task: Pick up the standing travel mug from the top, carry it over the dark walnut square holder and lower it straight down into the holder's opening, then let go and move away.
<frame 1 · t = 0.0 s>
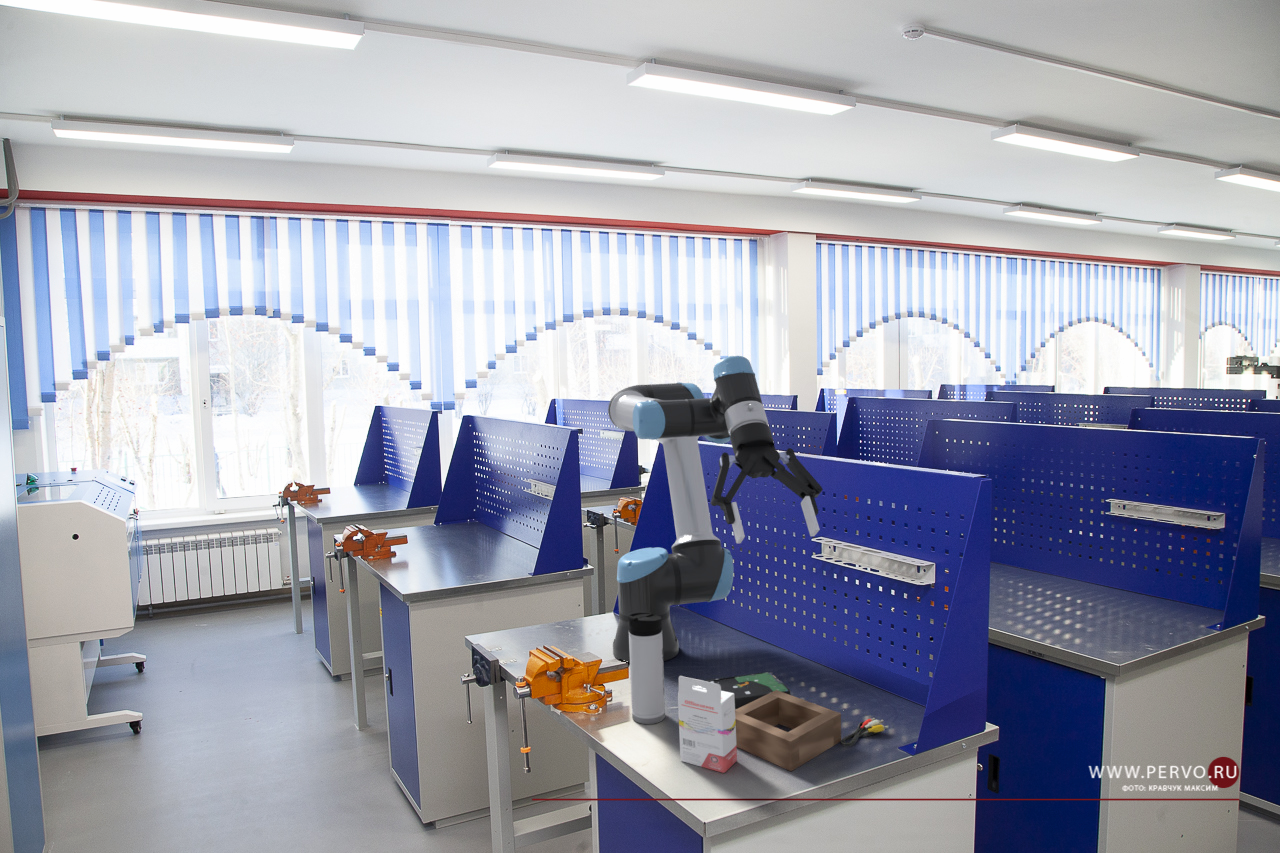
hand: (778, 536, 135), 36 cm above the table, tool tilted 35°, fingers open, 13 cm apart
travel mug: (648, 718, 148), on the table
mug holder: (783, 741, 137), on the table
ink cartridge box: (708, 762, 131), on the table
disk drive: (746, 699, 156), on the table
composite cable: (859, 738, 138), on the table
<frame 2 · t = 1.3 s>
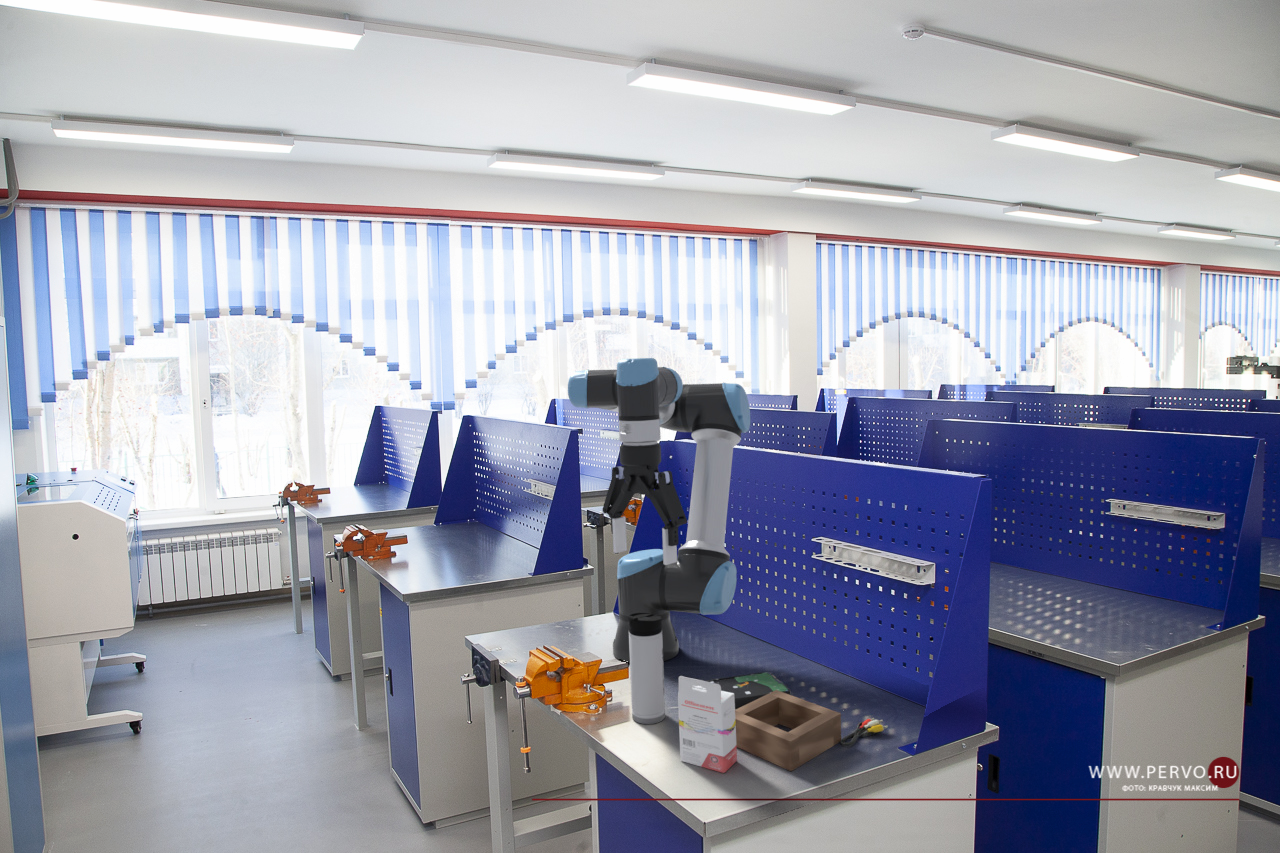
hand: (644, 557, 146), 31 cm above the table, tool pointing down, fingers open, 13 cm apart
nothing on the table moved.
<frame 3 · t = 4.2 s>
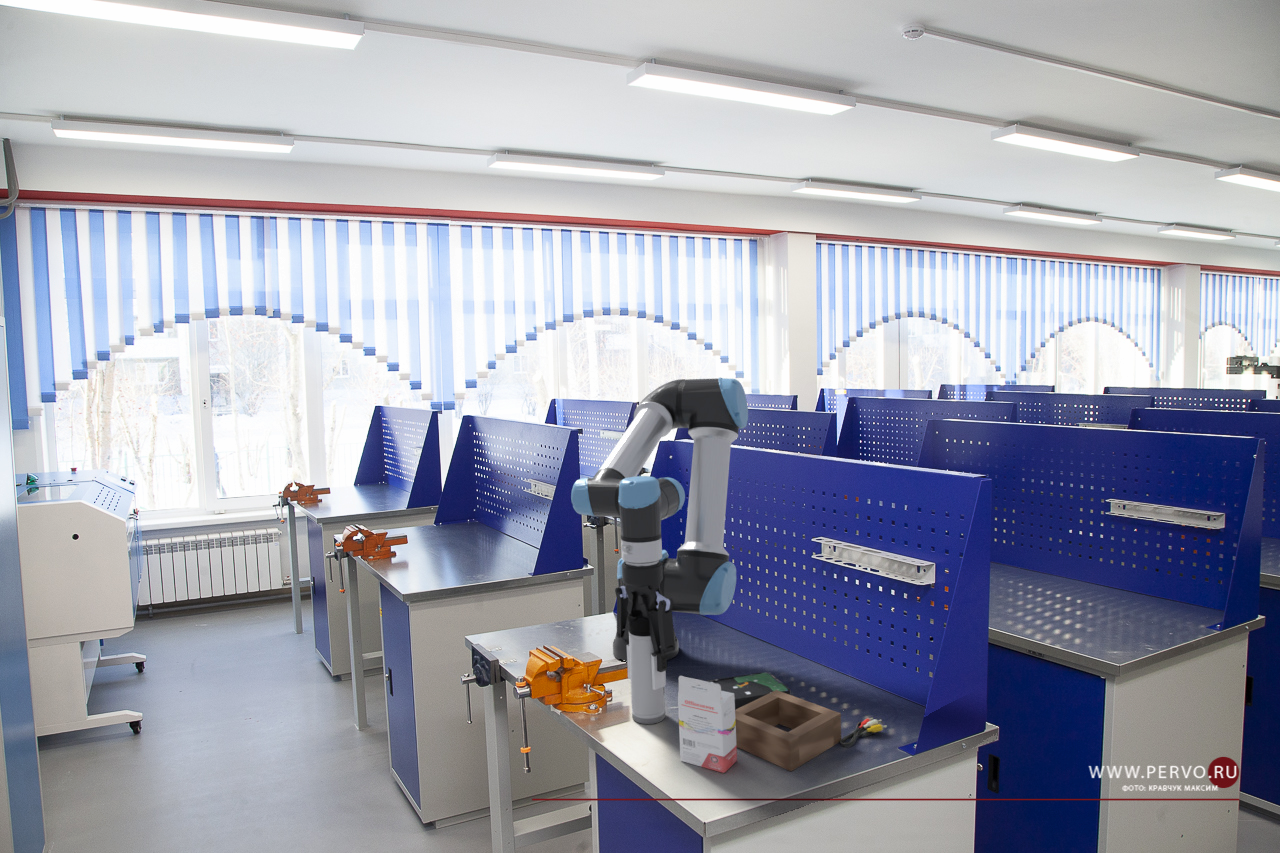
hand: (646, 681, 148), 7 cm above the table, tool pointing down, fingers closed on travel mug, 6 cm apart
travel mug: (648, 718, 148), on the table, touching gripper
everything else where it was.
when the fingers open (8 cm above the table, at t = 11.2 s): travel mug drops 1 cm, resting in mug holder.
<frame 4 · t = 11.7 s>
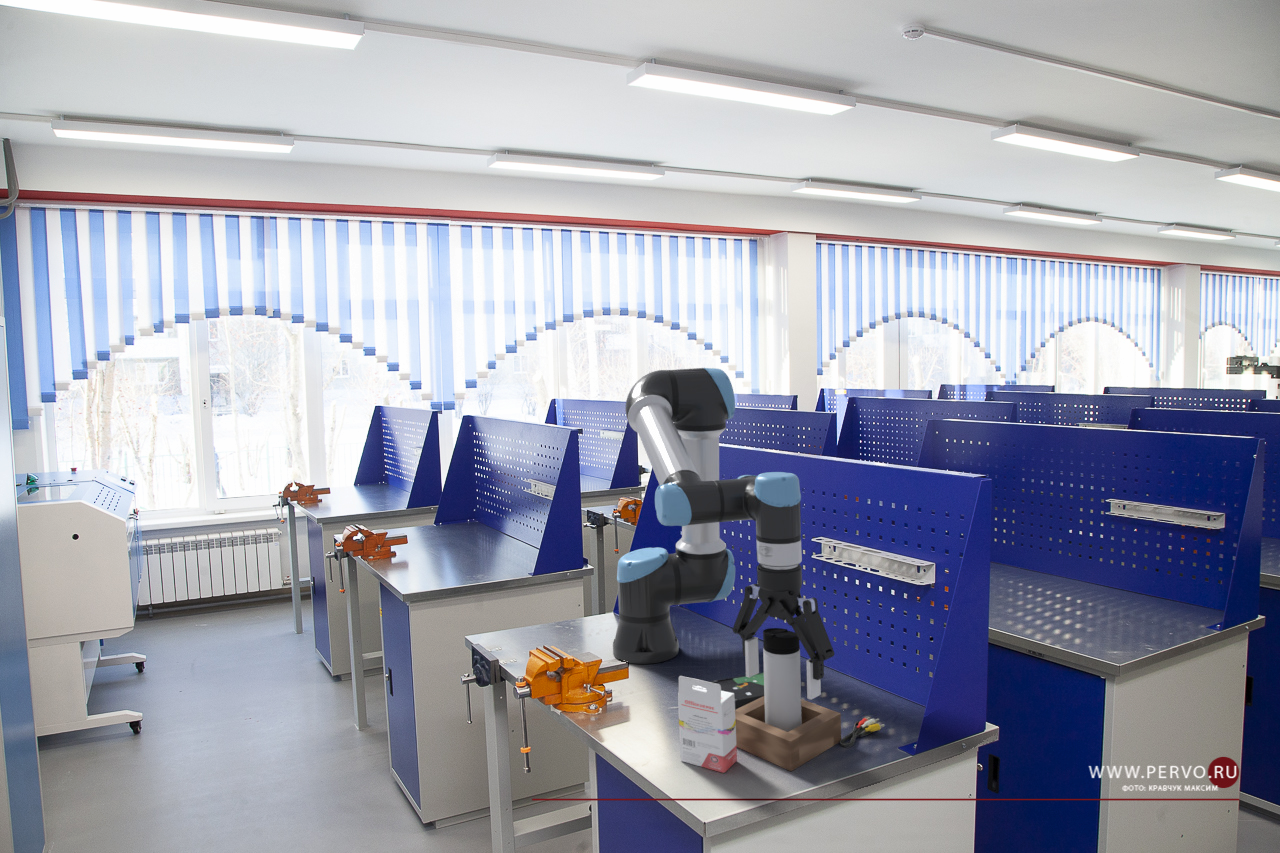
hand: (782, 685, 136), 10 cm above the table, tool pointing down, fingers open, 13 cm apart
travel mug: (783, 742, 137), resting in mug holder
everything else where it was.
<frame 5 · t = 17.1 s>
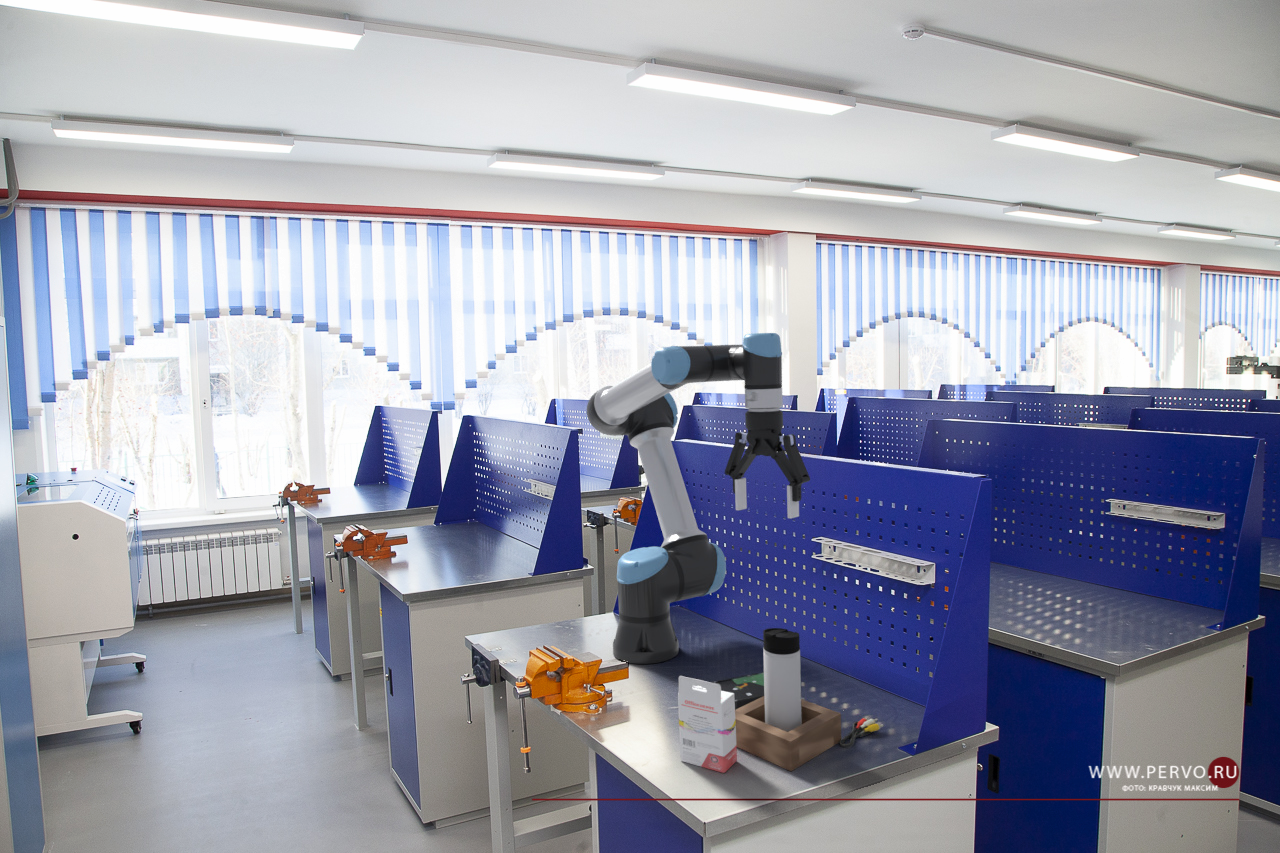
hand: (766, 513, 161), 35 cm above the table, tool pointing down, fingers open, 13 cm apart
nothing on the table moved.
at the end: travel mug 0.1 cm off-centre on the mug holder, point 0.0 cm above the mug holder's base; travel mug tilted 0°; the gripper is holding nothing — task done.
